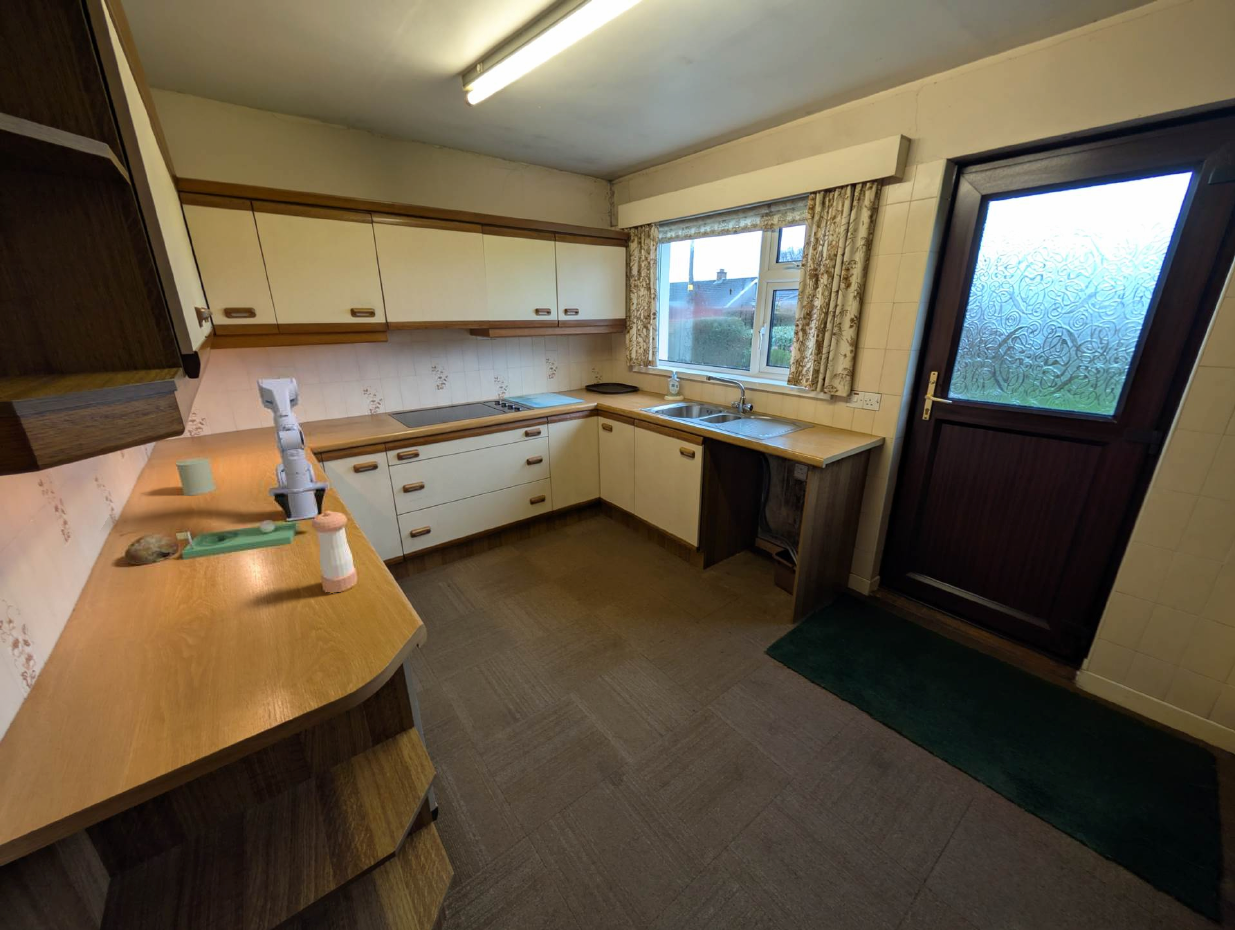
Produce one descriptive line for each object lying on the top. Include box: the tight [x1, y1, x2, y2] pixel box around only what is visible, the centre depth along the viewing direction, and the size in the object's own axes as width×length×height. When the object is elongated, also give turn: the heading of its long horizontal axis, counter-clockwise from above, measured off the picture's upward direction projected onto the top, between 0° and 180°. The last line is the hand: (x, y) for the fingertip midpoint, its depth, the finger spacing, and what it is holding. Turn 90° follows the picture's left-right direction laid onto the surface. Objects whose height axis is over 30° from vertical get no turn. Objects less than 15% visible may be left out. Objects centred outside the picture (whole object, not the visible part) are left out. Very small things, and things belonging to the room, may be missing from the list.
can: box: [175, 457, 217, 496], centre depth 173 cm, size 9×9×12 cm
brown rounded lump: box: [124, 533, 179, 566], centre depth 126 cm, size 10×10×8 cm
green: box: [175, 520, 299, 560], centre depth 135 cm, size 12×24×7 cm, turn 114°
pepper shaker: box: [311, 510, 358, 593], centre depth 112 cm, size 7×7×19 cm
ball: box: [259, 519, 276, 533], centre depth 137 cm, size 4×4×4 cm
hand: (305, 515), depth 140 cm, fingers open, 7 cm apart
